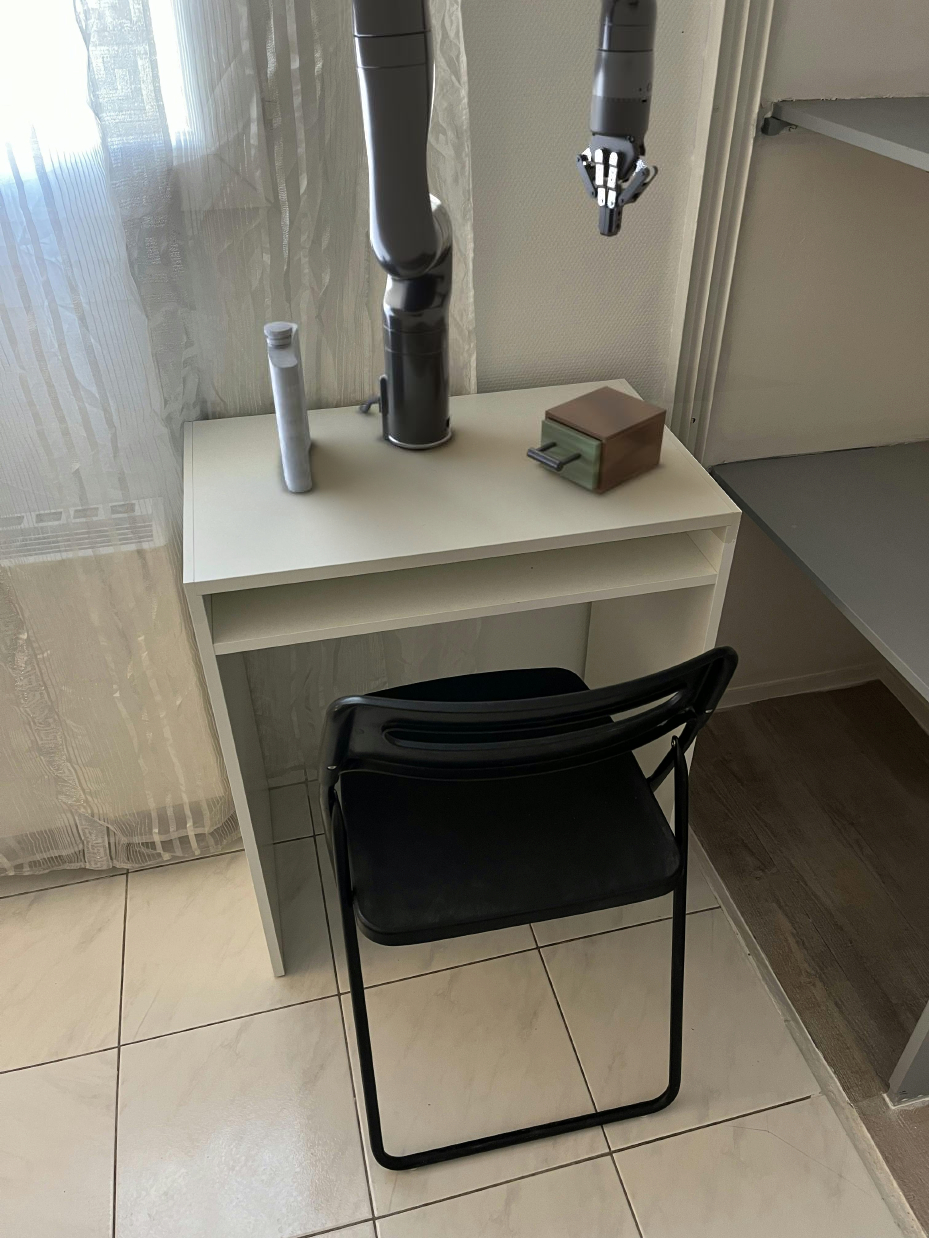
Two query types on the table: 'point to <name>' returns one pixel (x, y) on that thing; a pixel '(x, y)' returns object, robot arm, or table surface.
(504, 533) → the table surface
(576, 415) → the cabinet
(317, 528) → the table surface
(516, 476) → the table surface
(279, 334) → the hip flask
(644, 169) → the robot arm
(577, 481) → the drawer
